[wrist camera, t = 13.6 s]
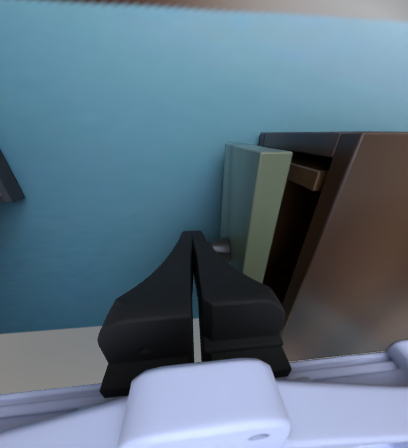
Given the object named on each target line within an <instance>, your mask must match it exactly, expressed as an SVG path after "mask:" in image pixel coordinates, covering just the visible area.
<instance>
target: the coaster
mask: <svg viewBox="0 0 408 448" xmlns="http://www.w3.org/2000/svg"><path fill="white" fill-rule="evenodd" d="M0 194H1V196H0V202H14V201H16V200H19V199H21V198H24V195H23V193H22V191H21V189H20V187H19V185H18V183H17V181H16V180H15V178H14V176H13V174H12V172H11V170H10V168H9V166H8V164H7V162H6V160H5V158H4V157H3V155H2V153H1V151H0Z"/></svg>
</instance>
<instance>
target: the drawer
mask: <svg viewBox="0 0 408 448" xmlns="http://www.w3.org/2000/svg"><path fill="white" fill-rule="evenodd" d="M332 160H333V158H331V157H325V156H319V155H293V152H291V151H286V150H280V149H274V148H268V147H262V146H257V145H251V144H245V143H226V145H225V161H224V179H223V196H222V213H221V230H220V238H210V239H209V244H210V245H211V246H212V247H213V249H214V250H215V251H216V252H217V253H218V254H219V255H220V256H221V257H222V258H223V259H224V260H225V261H226V262H228V263H229V264H230V265H231V266H233V267H234V268H236V269H237V270H238V271H240V272H242V273H243V274H245V275H247V276H248V277H250V278H252V279H254V280H256V281H258V282H260V283H262V284H264V285H266V286H268V287H270V288H271V289H272V291H273V292H274V294H275V295H276V296H277V298H278V300H279V301H280V303H281V305H283V302H284V299H285V296H286V293H287V290H288V287H289V284H290V281H291V279H292V276H293V273H294V270H295V267H296V264H297V261H298V258H299V255H300V252H301V250H302V247H303V244H304V241H305V238H306V235H307V232H308V229H309V226H310V223H311V221H312V218H313V215H314V212H315V209H316V206H317V203H318V200H319V197H320V194H321V191H322V189H323V186H324V183H325V180H326V177H327V174H328V171H329V168H330V165H331V162H332Z"/></svg>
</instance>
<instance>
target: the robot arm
mask: <svg viewBox="0 0 408 448" xmlns="http://www.w3.org/2000/svg"><path fill="white" fill-rule="evenodd" d="M193 275H194V278H195V284H196V290H197V297H198V309H199V325H200V343H201V360H202V362H197V363H194V343H193V314H192V292H193ZM284 319H285V311H284V308H283V307H282V305H281V303H280V301H279V300H278V298H277V296H276V295H275V294H274V292H273V291H272V289H271V288H270V287H268V286H266V285H264V284H262V283H260V282H258V281H256V280H254V279H252V278H250V277H248V276H247V275H245V274H243V273H242V272H240V271H238V270H237V269H236V268H234V267H233V266H231V265H230V264H229V263H228V262H226V261H225V260H224V259H223V258H222V257H221V256H220V255H219V254H218V253H217V252H216V251H215V250H214V249H213V247H212V246H211V245H210V244H209V242H208V241H207V240H206V238H205V237H204V235H203V233H202V232H201V231H184V232H183V233H182V235H181V237H180V239H179V241H178V243H177V244H176V246H175V248H174V249H173V251H172V252H171V253H170V255H169V256H168V257H167V259H166V260H165V261H164V262H163V263H162V264H161V265H160V266H159V267H158V268H157V269H156V270H155V271H154V272H153V273H152V274H151V275H150V276H149V277H148V278H146V279H145V280H144V281H143V282H141V283H140V284H139V285H137V286H136V287H134V288H133V289H131V290H130V291H128V292H127V293H125V294H123V295H122V296H120V297H119V298H117V299H116V300H115V302H114V304H113V306H112V307H111V309H110V311H109V313H108V315H107V317H106V319H105V321H104V324H103V326H102V328H101V330H100V333H99V336H98V344H99V347H100V348H101V350H102V352H103V354H104V356H105V357H106V360H107V361H108V363H109V364H108V366H107V370H106V372H105V376H104V378H103V381H102V383H99V384H91V385H82V386H72V387H64V388H54V389H46V390H37V391H28V392H19V393H10V394H1V395H0V448H408V339H405V340H399V341H395V342H393V343H392V344H390V345H389V346H388V347H387V348H386V351H385V352H376V353H368V354H359V355H350V356H341V357H333V358H323V359H314V360H305V361H297V362H289V361H288V359H287V357H286V354H285V352H284V350H283V348H282V346H283V341H282V338H281V336H280V334H279V332H280V330H281V327H282V325H283V322H284Z"/></svg>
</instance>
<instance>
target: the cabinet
mask: <svg viewBox="0 0 408 448" xmlns="http://www.w3.org/2000/svg"><path fill="white" fill-rule="evenodd" d="M259 146H262V147H268V148H274V149H280V150H286V151H291V152H293V155H319V156H325V157H331V158H333V160H332V162H331V165H330V168H329V171H328V174H327V177H326V180H325V183H324V186H323V189H322V191H321V194H320V197H319V200H318V203H317V206H316V209H315V212H314V215H313V218H312V221H311V223H310V226H309V229H308V232H307V235H306V238H305V241H304V244H303V247H302V250H301V252H300V255H299V258H298V261H297V264H296V267H295V270H294V273H293V276H292V279H291V281H290V284H289V287H288V290H287V293H286V296H285V299H284V302H283V305H282V307H283V308H284V311H285V319H284V322H283V325H282V327H281V330H280V332H279V334H280V336H281V338H282V341H283V346H282V348H283V350H284V352H285V354H286V357H287V359H288V361H297V360H306V359H315V358H324V357H332V356H341V355H351V354H359V353H368V352H377V351H386V348H387V347H388V346H389V345H390V344H392V343H393V342H395V341H399V340H405V339H408V132H275V133H261V135H260V141H259Z"/></svg>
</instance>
